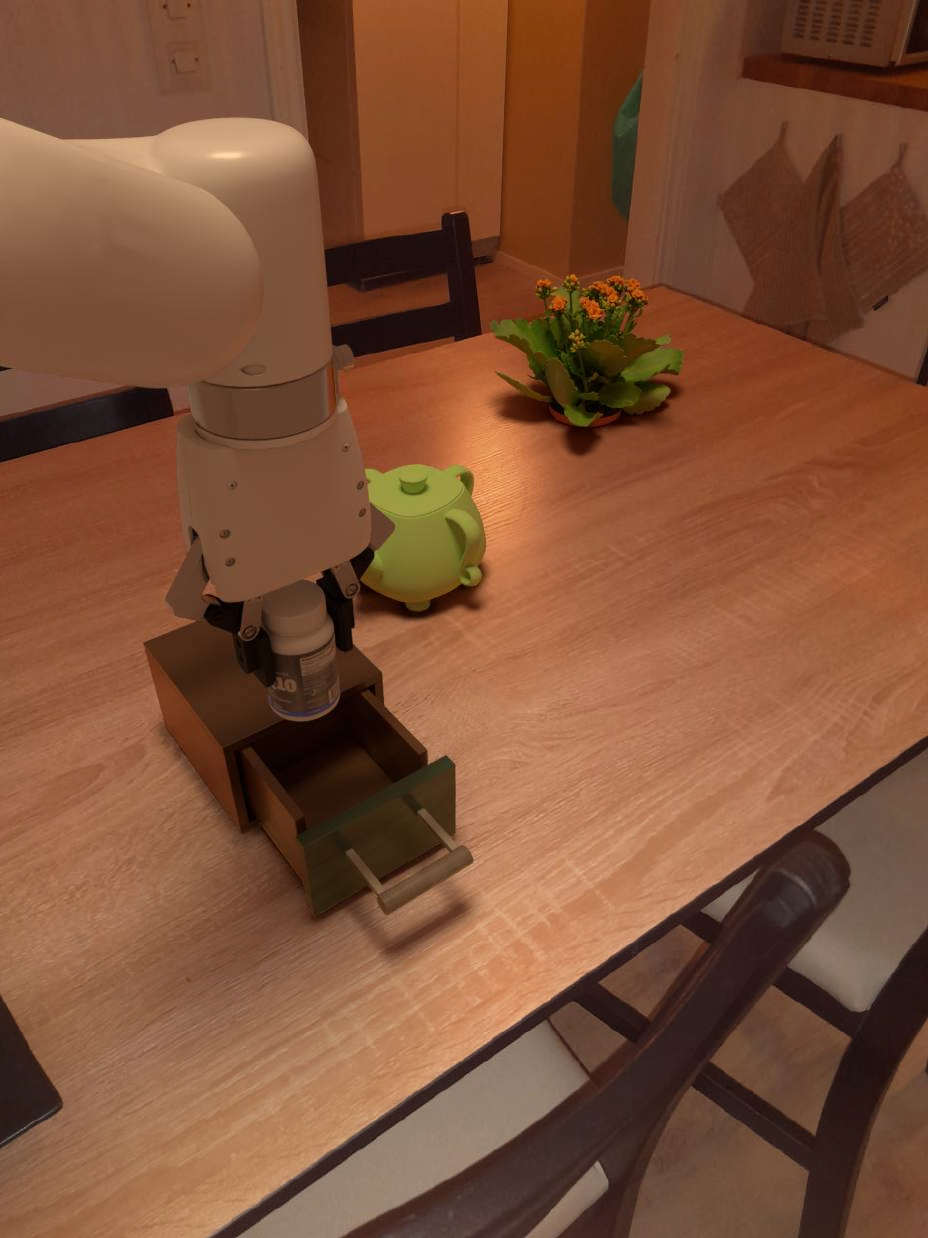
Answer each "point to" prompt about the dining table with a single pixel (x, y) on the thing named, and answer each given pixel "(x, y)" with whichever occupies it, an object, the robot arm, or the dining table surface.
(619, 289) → the potted flower
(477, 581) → the teapot
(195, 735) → the cabinet
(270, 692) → the pill bottle
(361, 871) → the drawer
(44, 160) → the robot arm
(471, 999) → the dining table surface
